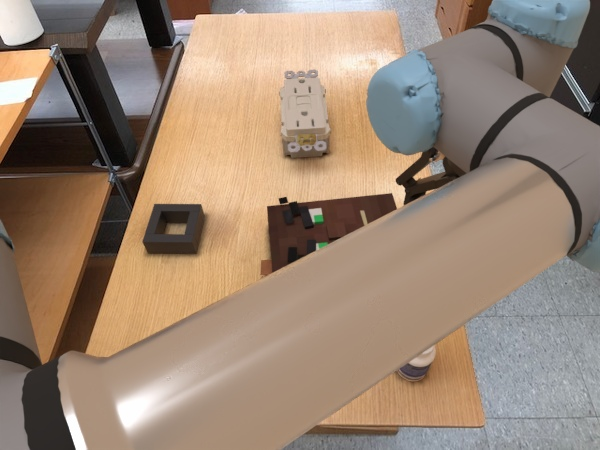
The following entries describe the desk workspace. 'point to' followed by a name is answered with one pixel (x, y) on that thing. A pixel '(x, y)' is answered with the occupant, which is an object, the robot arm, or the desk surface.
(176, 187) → the desk surface
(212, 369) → the robot arm
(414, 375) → the pill bottle
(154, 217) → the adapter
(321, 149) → the electrical outlet
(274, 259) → the decorative book
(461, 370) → the desk surface
